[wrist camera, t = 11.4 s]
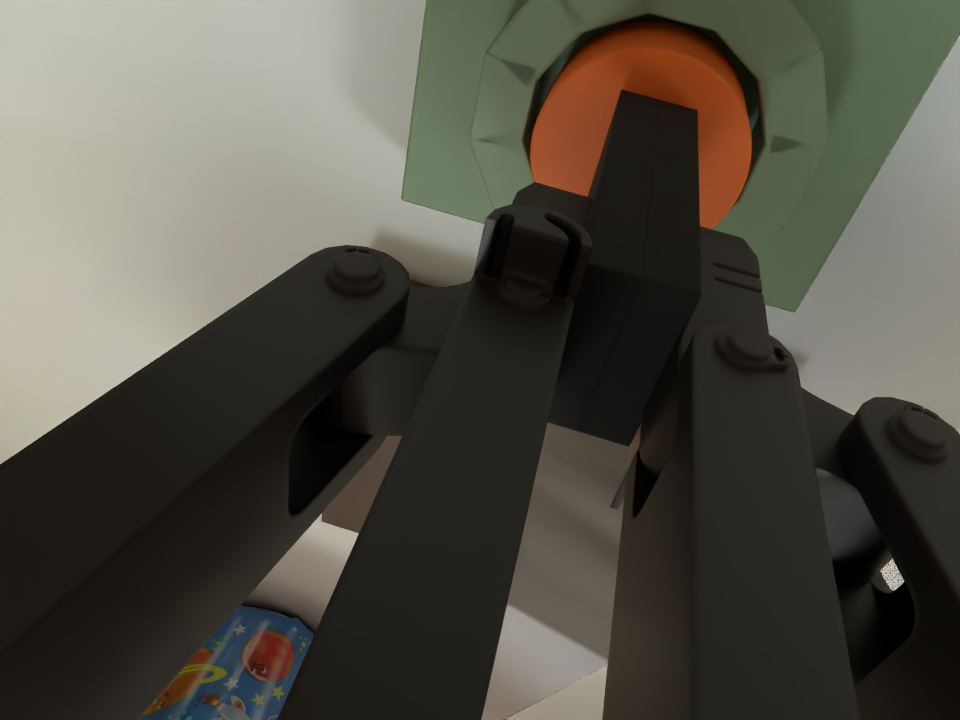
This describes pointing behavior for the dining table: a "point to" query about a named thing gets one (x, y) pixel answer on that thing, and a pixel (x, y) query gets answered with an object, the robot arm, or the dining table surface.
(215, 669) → the snack cup
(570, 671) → the tap lever
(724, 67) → the button
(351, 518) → the brown flat block
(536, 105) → the button housing
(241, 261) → the dining table surface
